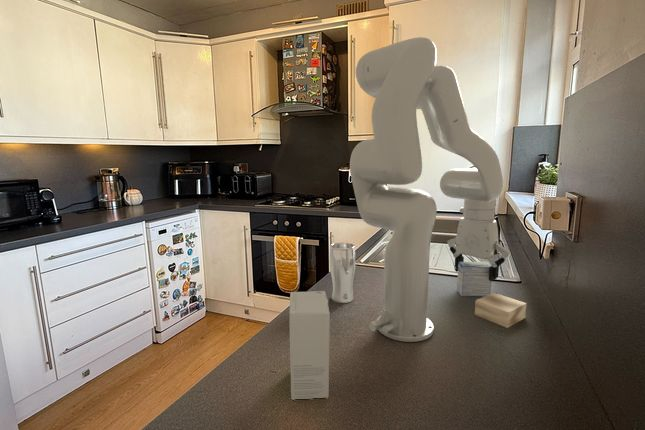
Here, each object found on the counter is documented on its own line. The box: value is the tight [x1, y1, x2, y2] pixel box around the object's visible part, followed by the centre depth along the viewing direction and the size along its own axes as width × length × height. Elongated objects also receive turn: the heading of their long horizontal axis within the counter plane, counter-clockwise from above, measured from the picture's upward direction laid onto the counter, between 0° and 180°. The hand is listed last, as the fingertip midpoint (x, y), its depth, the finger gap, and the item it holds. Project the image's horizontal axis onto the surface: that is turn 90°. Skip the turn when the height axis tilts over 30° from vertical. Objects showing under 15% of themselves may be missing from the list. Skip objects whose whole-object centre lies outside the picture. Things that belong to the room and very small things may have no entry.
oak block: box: [474, 292, 527, 329], centre depth 84 cm, size 8×8×4 cm
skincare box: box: [289, 290, 331, 400], centre depth 59 cm, size 8×7×16 cm
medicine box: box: [456, 261, 493, 297], centre depth 97 cm, size 8×4×9 cm, turn 84°
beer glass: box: [329, 242, 356, 304], centre depth 94 cm, size 7×7×15 cm
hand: (475, 274), depth 97 cm, fingers open, 9 cm apart
